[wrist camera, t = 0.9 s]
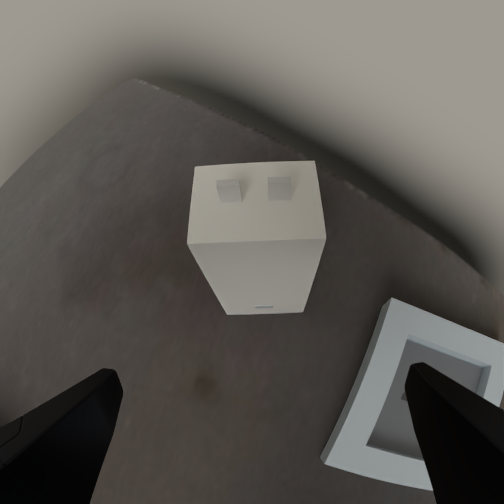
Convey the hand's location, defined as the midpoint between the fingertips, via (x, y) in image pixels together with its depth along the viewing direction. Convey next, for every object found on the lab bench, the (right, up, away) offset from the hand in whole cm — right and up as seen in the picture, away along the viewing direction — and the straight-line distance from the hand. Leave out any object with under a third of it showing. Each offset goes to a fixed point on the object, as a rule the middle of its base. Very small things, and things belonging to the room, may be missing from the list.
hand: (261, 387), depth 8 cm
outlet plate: (+12, -7, +10) cm, 18 cm away
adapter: (+1, +1, +15) cm, 15 cm away
